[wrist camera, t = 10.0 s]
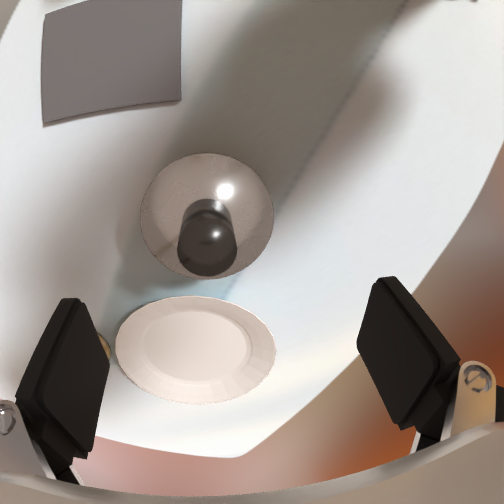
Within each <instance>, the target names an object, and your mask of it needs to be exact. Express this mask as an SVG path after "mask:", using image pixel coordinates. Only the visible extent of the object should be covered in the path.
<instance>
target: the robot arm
mask: <svg viewBox="0 0 504 504" xmlns="http://www.w3.org/2000/svg"><path fill="white" fill-rule="evenodd" d="M357 349H358V351H359V353H360V355H361V357H362V359H363V361H364V363H365V365H366V367H367V369H368V371H369V373H370V375H371V377H372V379H373V381H374V383H375V385H376V387H377V390H378V392H379V394H380V396H381V398H382V400H383V402H384V404H385V406H386V408H387V411H388V413H389V415H390V417H391V419H392V421H393V423H395V424H398V426H399V428H400V430H404V429H406V428H409V427H412V426H415V428H416V430H417V433H416V436H415V439H414V443H413V446H412V449H411V452H410V455H407V456H405V457H402V458H400V459H397V460H394V461H392V462H389V463H386V464H383V465H380V466H377V467H375V468H372V469H368V470H365V471H362V472H358V473H355V474H351V475H348V476H344V477H341V478H337V479H333V480H329V481H325V482H320V483H315V484H311V485H306V486H301V487H295V488H289V489H283V490H278V491H270V492H262V493H253V494H242V495H231V496H230V495H229V496H207V497H206V496H203V497H183V496H179V497H178V496H157V495H145V494H135V493H126V492H118V491H111V490H104V489H99V488H93V487H87V486H85V484H84V483H83V481H82V480H81V478H80V476H79V475H78V473H77V471H76V470H75V468H74V466H73V465H72V462H73V457H77V458H82V459H87V456H88V452H91V451H92V448H93V444H94V438H95V432H96V427H97V422H98V417H99V412H100V407H101V402H102V398H103V393H104V389H105V385H106V381H107V376H108V372H109V368H110V364H109V359H108V357H107V354H106V352H105V350H104V348H103V346H102V343H101V341H100V339H99V336H98V334H97V332H96V329H95V327H94V325H93V322H92V320H91V317H90V315H89V312H88V310H87V307H86V305H85V303H81V301H80V299H78V298H63V299H62V300H61V301H60V303H59V304H58V306H57V308H56V310H55V312H54V313H53V315H52V317H51V319H50V321H49V323H48V325H47V327H46V329H45V331H44V333H43V335H42V337H41V339H40V341H39V343H38V345H37V347H36V349H35V351H34V353H33V355H32V357H31V360H30V362H29V364H28V366H27V368H26V371H25V373H24V375H23V378H22V380H21V382H20V385H19V387H18V390H17V392H16V395H15V397H16V402H15V403H13V402H12V401H9V400H1V401H0V504H504V388H503V387H500V386H498V385H496V380H495V377H494V374H493V372H492V371H491V370H490V369H489V368H488V367H487V366H486V365H484V364H483V363H480V362H477V361H469V362H466V363H464V364H463V365H462V366H460V365H459V361H460V360H461V359H460V358H459V356H458V355H457V354H456V352H455V351H454V349H453V348H452V347H451V345H450V344H449V343H448V341H447V340H446V339H445V337H444V336H443V335H442V333H441V332H440V331H439V329H438V328H437V327H436V326H435V324H434V323H433V322H432V320H431V319H430V318H429V316H428V315H427V314H426V313H425V311H424V310H423V309H422V308H421V307H420V305H419V304H418V303H417V302H416V300H415V299H414V298H413V297H412V295H411V294H410V293H409V292H408V291H407V289H406V288H405V287H404V286H403V285H402V283H401V282H400V281H399V280H398V279H397V278H396V277H395V276H390V277H382V278H378V280H377V281H376V283H374V284H373V285H372V289H371V292H370V296H369V300H368V304H367V307H366V311H365V314H364V318H363V321H362V325H361V328H360V331H359V335H358V338H357Z"/></svg>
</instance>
